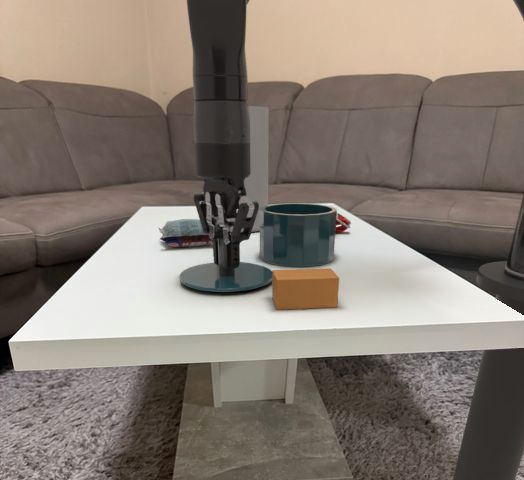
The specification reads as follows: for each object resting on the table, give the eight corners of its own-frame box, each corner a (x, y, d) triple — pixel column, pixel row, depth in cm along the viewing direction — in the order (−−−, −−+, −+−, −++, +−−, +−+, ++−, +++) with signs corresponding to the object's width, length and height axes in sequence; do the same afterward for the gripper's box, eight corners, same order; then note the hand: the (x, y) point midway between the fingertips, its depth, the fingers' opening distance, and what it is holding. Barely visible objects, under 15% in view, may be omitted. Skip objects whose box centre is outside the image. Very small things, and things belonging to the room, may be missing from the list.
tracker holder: (321, 235, 94) (286, 218, 99) (319, 254, 97) (285, 236, 102) (357, 215, 100) (322, 199, 105) (354, 233, 103) (320, 217, 108)
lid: (237, 263, 79) (236, 224, 76) (292, 283, 69) (293, 239, 66) (163, 278, 71) (159, 235, 68) (213, 303, 61) (210, 254, 58)
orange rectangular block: (329, 296, 63) (330, 268, 62) (337, 307, 59) (339, 277, 58) (272, 298, 63) (272, 270, 61) (276, 309, 59) (276, 279, 57)
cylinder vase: (267, 233, 101) (267, 106, 90) (211, 233, 101) (205, 106, 91) (268, 223, 112) (269, 108, 101) (218, 222, 113) (213, 108, 102)
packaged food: (159, 240, 94) (157, 216, 92) (216, 238, 97) (215, 214, 94) (160, 251, 87) (158, 225, 85) (222, 248, 89) (221, 222, 87)
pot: (298, 245, 91) (300, 201, 87) (348, 258, 82) (352, 209, 78) (245, 255, 84) (245, 207, 80) (293, 271, 74) (295, 218, 71)
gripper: (276, 140, 58) (275, 272, 66) (217, 138, 68) (221, 253, 76) (228, 141, 54) (232, 281, 62) (172, 139, 64) (181, 260, 72)
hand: (226, 265), depth 69 cm, fingers closed on lid, 2 cm apart
